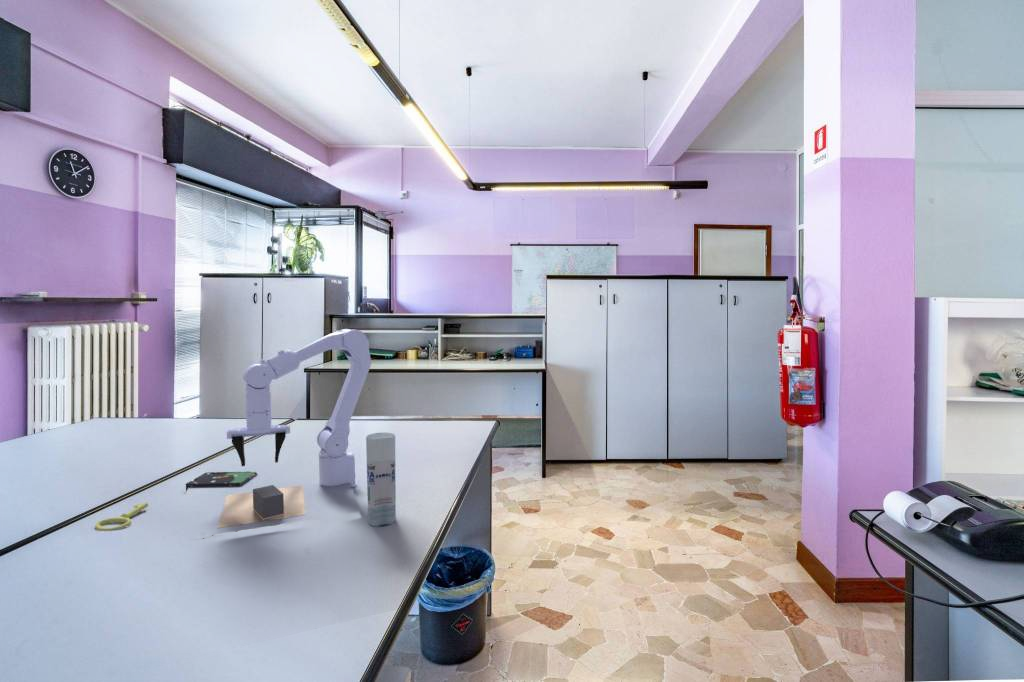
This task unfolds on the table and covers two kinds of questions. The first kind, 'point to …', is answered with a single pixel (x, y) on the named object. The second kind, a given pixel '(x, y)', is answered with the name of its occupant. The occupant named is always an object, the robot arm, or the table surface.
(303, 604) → the table surface
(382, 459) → the spray paint can
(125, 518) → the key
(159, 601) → the table surface
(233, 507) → the oak board
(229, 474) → the disk drive
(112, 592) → the table surface
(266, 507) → the block
